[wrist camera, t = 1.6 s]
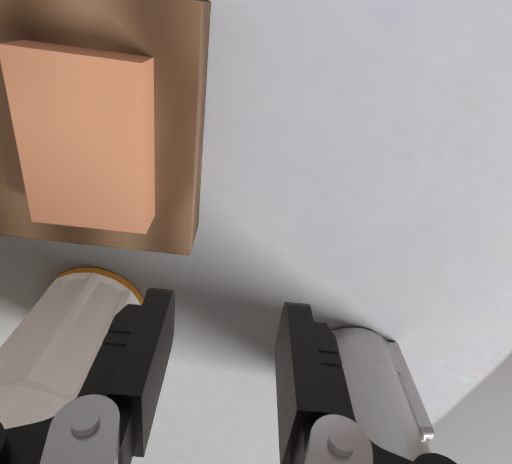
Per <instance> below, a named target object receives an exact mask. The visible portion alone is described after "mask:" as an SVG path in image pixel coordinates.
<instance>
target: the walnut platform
mask: <svg viewBox="0 0 512 464" xmlns="http://www.w3.org/2000/svg"><path fill="white" fill-rule="evenodd" d="M210 8H211V2H208V1H201V0H0V43H5V42H12V41H19V40H29V41H37V42H44V43H51V44H59V45H66V46H74V47H81V48H88V49H96V50H103V51H111V52H118V53H125V54H133V55H140V56H147V57H154V154H155V216H154V219H153V221H152V223H151V225H150V227H149V229H148V231H147V233H146V234H141V233H131V232H122V231H113V230H104V229H94V228H85V227H76V226H67V225H58V224H48V223H39V222H32V221H31V216H30V210H29V205H28V200H27V195H26V190H25V185H24V180H23V174H22V169H21V164H20V159H19V154H18V149H17V144H16V138H15V133H14V128H13V123H12V118H11V113H10V108H9V102H8V97H7V92H6V87H5V82H4V77H3V72H2V66H1V61H0V235H2V236H12V237H21V238H31V239H40V240H50V241H59V242H68V243H78V244H87V245H97V246H106V247H116V248H125V249H135V250H144V251H153V252H163V253H172V254H182V255H190V253H191V250H192V246H193V242H194V239H195V235H196V231H197V228H198V220H199V202H200V184H201V167H202V149H203V131H204V114H205V96H206V78H207V61H208V43H209V26H210Z"/></svg>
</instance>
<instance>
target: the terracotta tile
mask: <svg viewBox="0 0 512 464" xmlns="http://www.w3.org/2000/svg"><path fill="white" fill-rule="evenodd" d="M0 61H1V66H2V72H3V77H4V82H5V87H6V92H7V97H8V102H9V108H10V113H11V118H12V123H13V128H14V133H15V138H16V144H17V149H18V154H19V159H20V164H21V169H22V174H23V180H24V185H25V190H26V195H27V200H28V205H29V210H30V216H31V221H32V222H39V223H48V224H58V225H67V226H76V227H85V228H94V229H104V230H113V231H122V232H131V233H141V234H146V233H147V231H148V229H149V227H150V225H151V223H152V221H153V219H154V216H155V154H154V57H147V56H140V55H133V54H125V53H118V52H111V51H103V50H96V49H88V48H81V47H74V46H66V45H59V44H51V43H44V42H37V41H29V40H19V41H12V42H5V43H0Z"/></svg>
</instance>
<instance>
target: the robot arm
mask: <svg viewBox="0 0 512 464" xmlns="http://www.w3.org/2000/svg"><path fill="white" fill-rule="evenodd" d="M174 312H175V291H174V290H166V289H156V288H149V289H148V291H147V293H146V296H145V298H144V301H143V303H142V305H136V304H127V305H126V306H125V307H124V308H123V309H122V310H120V311H119V312H118V313H117V314H116V315H115V316H114V318H113V321H112V323H111V325H110V327H109V329H108V333H107V334H106V336H105V338H104V340H103V342H102V346H101V347H100V349H99V351H98V353H97V355H96V357H95V360H94V362H93V364H92V366H91V368H90V370H89V373H88V375H87V377H86V379H85V381H84V383H83V386H82V388H81V390H80V392H79V394H78V396H77V397H76V398H75V399H74V400H72V401H70V402H68V403H67V404H66V405H64V406H63V407H62V408H61V409H60V410H59V411H58V412H57V413H56V415H55V416H53V417H51V418H49V419H46V420H44V421H40V422H36V423H32V424H27V425H22V426H18V427H13V428H8V429H4V427H3V425H2V424H1V422H0V464H131V461H132V457H133V456H136V457H144V454H145V450H146V446H147V442H148V438H149V435H150V431H151V427H152V423H153V419H154V415H155V411H156V407H157V403H158V399H159V395H160V391H161V387H162V383H163V379H164V375H165V371H166V367H167V363H168V359H169V355H170V351H171V347H172V342H173V335H174ZM275 367H276V388H277V408H278V429H279V450H280V464H457V463H455V462H454V461H452V460H451V459H449V458H447V457H445V456H443V455H440V454H436V453H431V452H430V449H429V446H428V445H429V444H430V442H431V440H432V439H433V437H434V430H433V427H432V425H431V422H430V420H429V417H428V415H427V412H426V410H425V408H424V405H423V403H422V400H421V398H420V396H419V393H418V391H417V388H416V386H415V383H414V381H413V379H412V376H411V374H410V371H409V369H408V367H407V364H406V362H405V359H404V357H403V354H402V352H401V350H400V347H399V345H398V343H393V342H388V341H387V340H385V339H384V338H383V337H382V336H380V335H379V334H377V333H375V332H373V331H370V330H367V329H363V328H341V329H336V330H332V331H331V330H330V328H329V327H328V326H327V324H326V323H317V322H313V317H312V312H311V307H310V305H309V304H302V303H292V302H285V303H284V306H283V311H282V315H281V320H280V325H279V330H278V334H277V339H276V348H275Z"/></svg>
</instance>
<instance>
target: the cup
mask: <svg viewBox="0 0 512 464" xmlns="http://www.w3.org/2000/svg"><path fill="white" fill-rule="evenodd" d="M142 303H143V298H142V297H141V295H140V293H139V292H138V291H137V289H136V288H135V287H134V285H132V284H131V283H130V282H128V281H127V280H125V279H124V278H122V277H120V276H119V275H117V274H115V273H112V272H109V271H106V270H103V269H100V268H89V267H86V268H75V269H72V270H68V271H66V272H63V273H61V274H59V275H58V277H57V278H56V279H55V280H54V281H53V282H52V284H51V285H50V286H49V287H48V289H47V290H46V292H45V293H44V295H43V296H42V297H41V298H40V299H39V301H38V302H37V303H36V304H35V306H34V307H33V308H32V309H31V311H30V312H29V313H28V314H27V316H26V317H25V318H24V319H23V321H22V322H21V323H20V324H19V326H18V327H17V328H16V329H15V331H14V332H13V333H12V334H11V336H10V337H9V338H8V339H7V341H6V342H5V343H4V344H3V345H2V347H1V348H0V422H1V424H2V425H3V427H4V429H8V428H13V427H18V426H22V425H27V424H32V423H36V422H40V421H44V420H46V419H49V418H51V417H53V416H55V415H56V413H57V412H58V411H59V410H60V409H61V408H62V407H63V406H64V405H66V404H67V403H68V402H70V401H72V400H74V399H75V398H76V397H77V396H78V394H79V392H80V390H81V388H82V386H83V383H84V381H85V379H86V377H87V375H88V373H89V370H90V368H91V366H92V364H93V362H94V360H95V357H96V355H97V353H98V351H99V349H100V347H101V346H102V342H103V340H104V338H105V336H106V334H107V333H108V329H109V327H110V325H111V323H112V321H113V318H114V316H115V315H116V314H117V313H118V312H119V311H120V310H122V309H123V308H124V307H125V306H126V305H127V304H136V305H142Z"/></svg>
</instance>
